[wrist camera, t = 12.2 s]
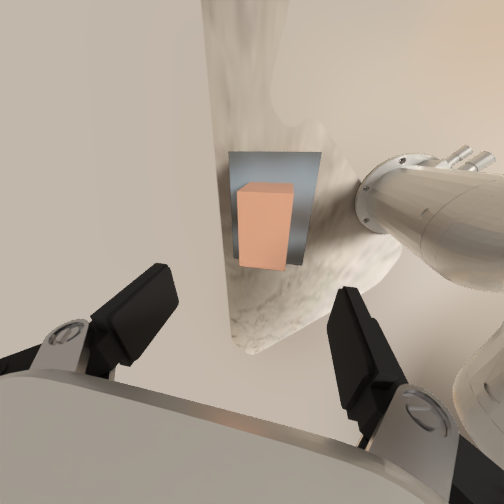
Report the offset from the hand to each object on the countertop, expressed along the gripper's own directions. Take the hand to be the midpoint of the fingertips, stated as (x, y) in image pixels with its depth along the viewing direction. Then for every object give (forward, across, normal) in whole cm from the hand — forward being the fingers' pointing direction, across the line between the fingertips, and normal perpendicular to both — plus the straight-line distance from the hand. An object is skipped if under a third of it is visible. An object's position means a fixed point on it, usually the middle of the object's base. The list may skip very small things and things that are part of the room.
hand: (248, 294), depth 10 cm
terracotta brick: (+15, 0, 0) cm, 15 cm away
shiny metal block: (+27, 0, 0) cm, 27 cm away
